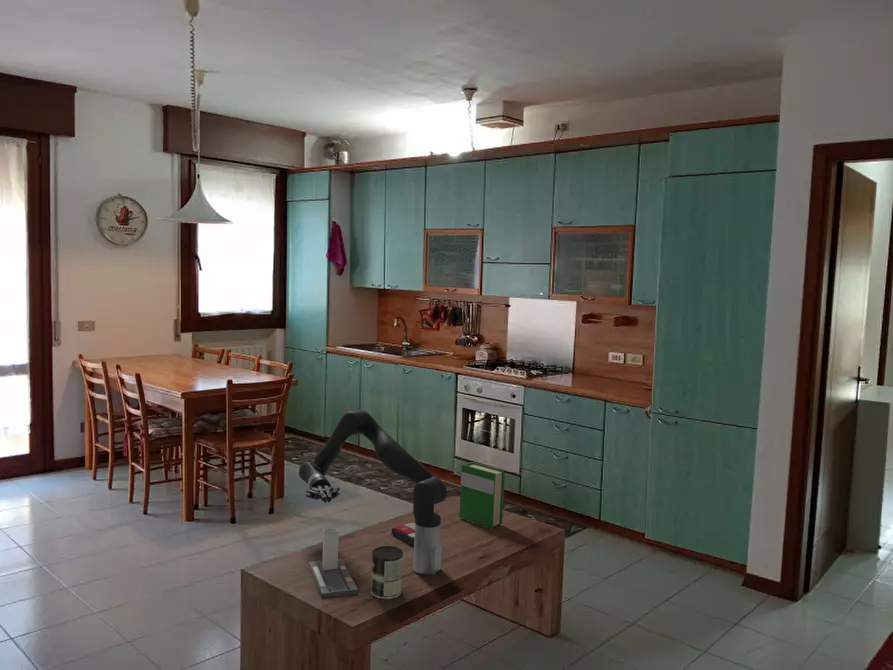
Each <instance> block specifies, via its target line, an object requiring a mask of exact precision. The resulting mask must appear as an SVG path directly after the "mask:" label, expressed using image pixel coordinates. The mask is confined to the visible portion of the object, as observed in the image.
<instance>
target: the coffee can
mask: <svg viewBox="0 0 893 670" xmlns="http://www.w3.org/2000/svg"><path fill="white" fill-rule="evenodd" d="M403 555H404V550H402V549H401V548H399V547H396V546H392V545H391V546H390V545H383V546H382V545H381V546H378V547H375V548H374V549H372V551H371V557H372V560H371V584H370V585H371V586H370V587H371V589H370V594H371V595H372V596H373V597H374V596H375V597H374V598H376V597H377V599H380V598H382V599H381V600H392V599H396V598H398V597H400V596H401V594H402V573H403Z"/></svg>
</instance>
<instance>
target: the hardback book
mask: <svg viewBox="0 0 893 670" xmlns="http://www.w3.org/2000/svg"><path fill="white" fill-rule="evenodd" d="M505 475H506V470H504V469H500V468H497V467H494V466H489V465H486V464H482V463H478V462H474V461H471V462H466V463H464V464H461V475H460V476H461V477H460V495H459V497H460V498H459V517H460V518H462V519H466V520H469V521H471V522H474V523H477V524H480V525H482V526H481V527H483V526H486V527H488V528H493V529H494V527H495V526H499V525H498V524H502V525H503V513H504V512H503V511H504V494H505V477H506V476H505ZM462 519H461V520H462ZM471 522H470V523H471ZM474 523H473V524H474ZM477 524H476V525H477ZM480 525H479V526H480ZM486 527H485V528H486ZM488 528H487V529H488Z"/></svg>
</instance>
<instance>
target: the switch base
mask: <svg viewBox="0 0 893 670" xmlns="http://www.w3.org/2000/svg"><path fill="white" fill-rule="evenodd" d="M322 562H323V559H322V560H315V561H314V560H312V561H309V562H308V567H309V569H310V572H311V574H312V576H313V579H314V582H315V583H316V587H317V589H319V590H318V592H319V591H320V592H319V595H320V594H321V595H320V597H321V598H322V597H325V598H330V596H334V597H338V596H337V595H342V596H349V595H350V594H351V595H358V593H359V589H358V587H357V585H356V582H355V581H354V579H353V577H352V574H351V572H350V571H349V569H348V568H347V566H346V563H345V561H344V559H343V558H338V569H333V570H323V568H322ZM347 594H348V595H347Z"/></svg>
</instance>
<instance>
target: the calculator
mask: <svg viewBox="0 0 893 670" xmlns="http://www.w3.org/2000/svg"><path fill="white" fill-rule="evenodd" d="M392 534H393V535H394V536H393V535H392ZM391 535H392V536H393V537H395V536H396V537H397V538H396V537H395V538H396V539H398V538H399V540H400V539H401V540H400V541H402V542H404V543H405V544H407V545H408V544H409V546H410V545H411V547H412V546H413V547H414V537H415V522H410V523H405V524H401V525H397V526H393V527H392V528H391Z"/></svg>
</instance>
